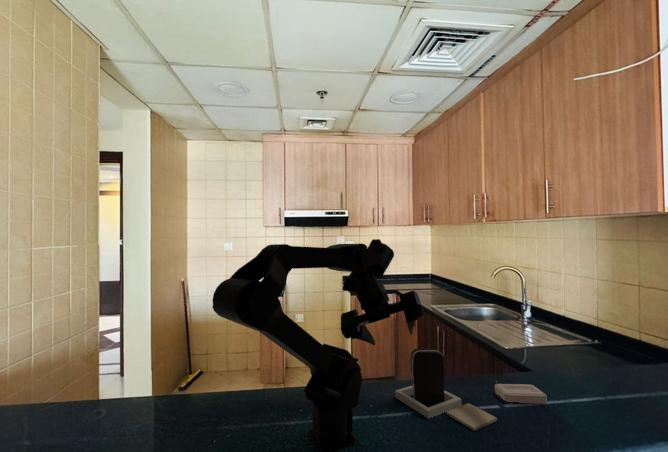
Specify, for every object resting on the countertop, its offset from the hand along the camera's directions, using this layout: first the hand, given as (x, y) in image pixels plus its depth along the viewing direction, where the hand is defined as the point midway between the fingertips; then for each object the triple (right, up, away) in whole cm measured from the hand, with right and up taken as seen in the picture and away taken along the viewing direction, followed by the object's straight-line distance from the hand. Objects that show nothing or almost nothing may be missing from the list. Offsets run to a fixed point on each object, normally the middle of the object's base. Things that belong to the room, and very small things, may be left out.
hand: (392, 338), depth 71 cm
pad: (+14, -12, -11) cm, 21 cm away
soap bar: (+29, -13, -3) cm, 32 cm away
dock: (+7, -12, -5) cm, 15 cm away
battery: (+7, -13, -5) cm, 15 cm away
